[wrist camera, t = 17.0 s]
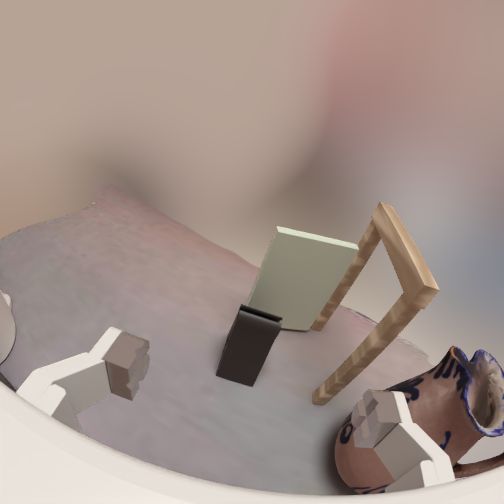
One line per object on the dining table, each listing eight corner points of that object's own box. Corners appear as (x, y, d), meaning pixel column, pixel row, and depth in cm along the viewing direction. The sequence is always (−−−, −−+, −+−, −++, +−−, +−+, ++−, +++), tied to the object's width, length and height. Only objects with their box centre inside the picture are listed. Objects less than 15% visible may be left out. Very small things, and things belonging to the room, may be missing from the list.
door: (240, 312, 53) (275, 221, 41) (305, 320, 56) (354, 239, 44) (240, 323, 51) (278, 231, 39) (308, 330, 54) (359, 249, 42)
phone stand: (252, 387, 42) (278, 347, 35) (215, 375, 42) (232, 332, 35) (261, 344, 50) (285, 299, 43) (228, 333, 49) (246, 286, 42)
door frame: (311, 404, 42) (424, 284, 26) (309, 320, 57) (379, 201, 41) (324, 406, 42) (439, 290, 26) (320, 322, 57) (392, 206, 41)
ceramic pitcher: (353, 396, 45) (449, 303, 30) (427, 458, 35) (535, 388, 21) (294, 465, 33) (416, 394, 18) (385, 532, 23) (527, 489, 9)
